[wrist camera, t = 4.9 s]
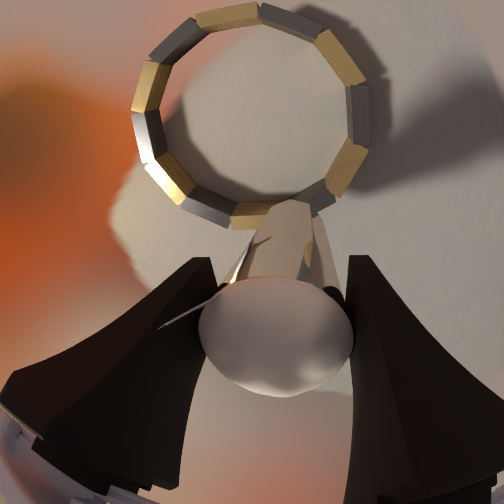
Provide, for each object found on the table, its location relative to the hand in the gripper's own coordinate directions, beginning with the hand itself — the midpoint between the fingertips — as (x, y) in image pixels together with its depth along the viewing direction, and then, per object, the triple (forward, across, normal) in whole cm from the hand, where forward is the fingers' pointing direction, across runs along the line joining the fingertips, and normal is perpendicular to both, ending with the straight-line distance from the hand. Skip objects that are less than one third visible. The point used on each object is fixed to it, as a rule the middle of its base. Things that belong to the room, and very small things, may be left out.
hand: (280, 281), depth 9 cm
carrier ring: (+10, +2, -4) cm, 12 cm away
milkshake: (+6, 0, +1) cm, 6 cm away
